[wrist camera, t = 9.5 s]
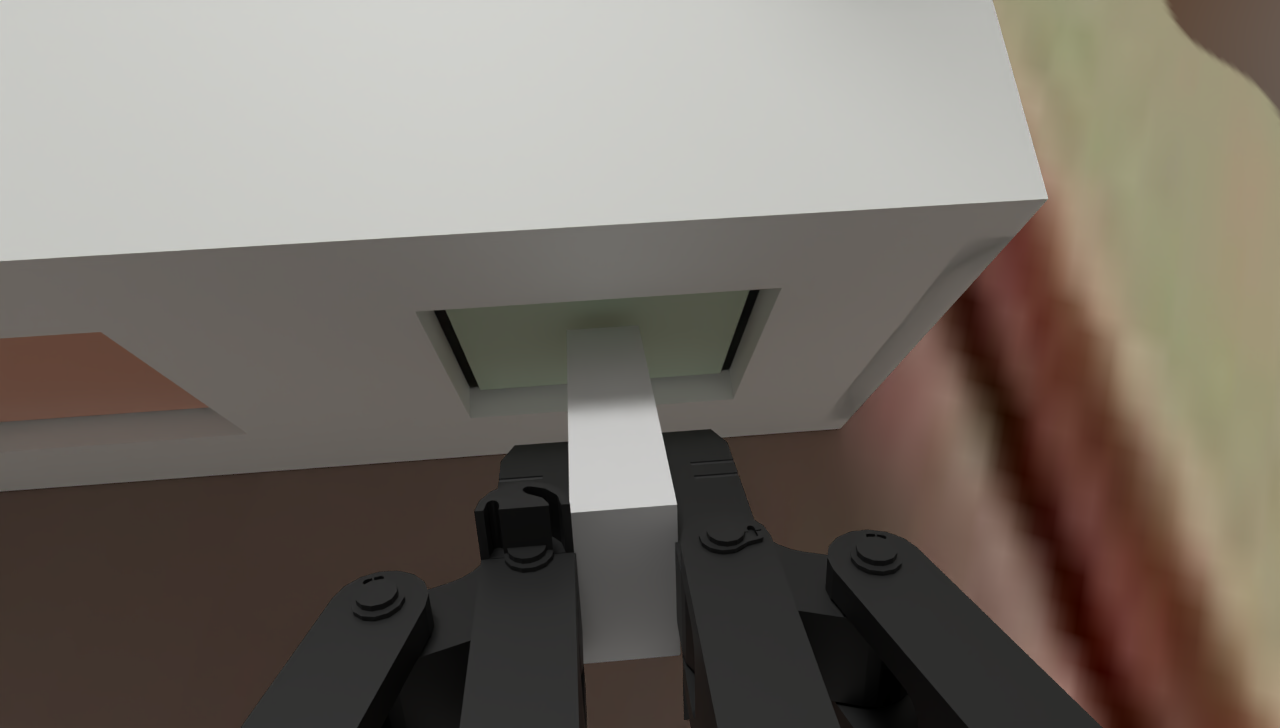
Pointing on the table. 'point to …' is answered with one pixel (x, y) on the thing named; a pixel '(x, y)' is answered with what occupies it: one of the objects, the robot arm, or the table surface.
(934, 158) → the box
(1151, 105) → the table surface
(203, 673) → the table surface
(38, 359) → the terracotta button
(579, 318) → the sage button
